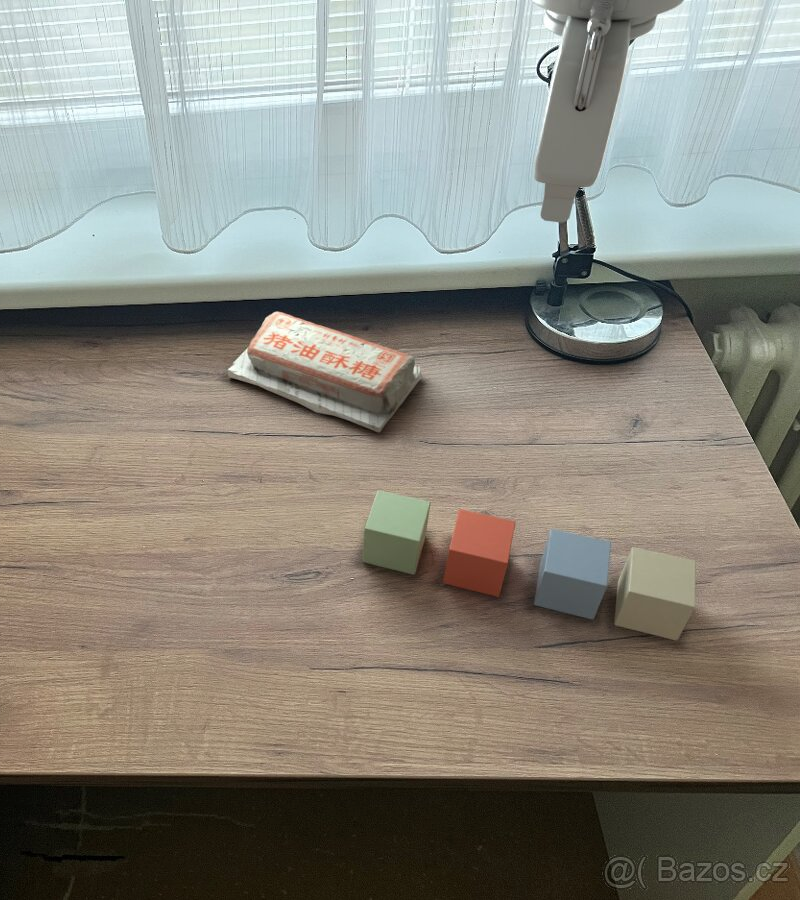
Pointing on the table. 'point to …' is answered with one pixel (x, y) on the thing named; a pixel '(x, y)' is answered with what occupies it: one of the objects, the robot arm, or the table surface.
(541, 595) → the blue-grey block
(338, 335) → the packaged product
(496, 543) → the coral block
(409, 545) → the sage block
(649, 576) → the cream block
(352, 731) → the table surface
